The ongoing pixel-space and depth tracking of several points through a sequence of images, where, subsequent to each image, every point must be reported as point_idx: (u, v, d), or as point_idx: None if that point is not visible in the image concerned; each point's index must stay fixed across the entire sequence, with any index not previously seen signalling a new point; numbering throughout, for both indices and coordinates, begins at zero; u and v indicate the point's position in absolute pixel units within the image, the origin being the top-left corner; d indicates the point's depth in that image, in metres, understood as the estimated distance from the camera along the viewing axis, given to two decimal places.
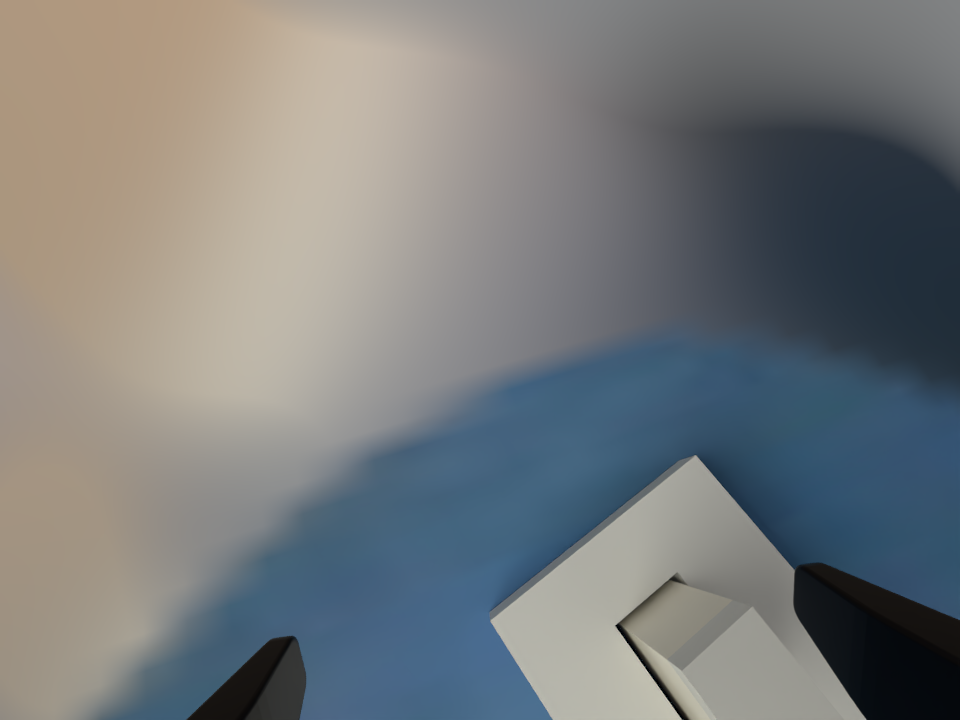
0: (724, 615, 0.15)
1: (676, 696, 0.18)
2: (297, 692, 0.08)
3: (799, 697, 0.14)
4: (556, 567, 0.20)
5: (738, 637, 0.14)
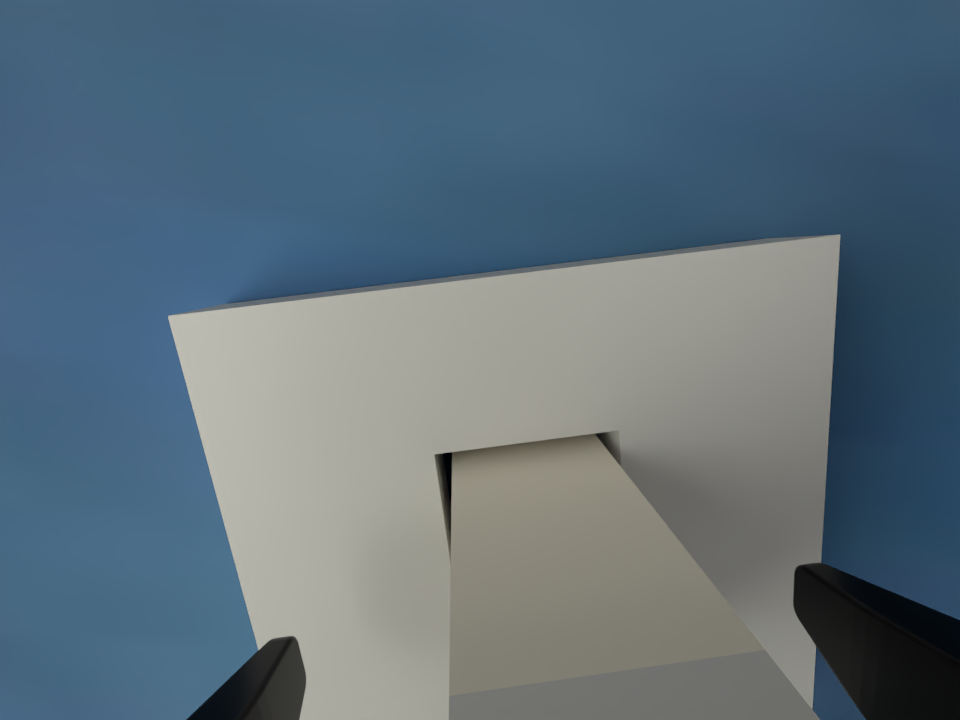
0: (721, 701, 0.04)
1: None
2: (297, 692, 0.08)
3: None
4: (376, 291, 0.08)
5: None
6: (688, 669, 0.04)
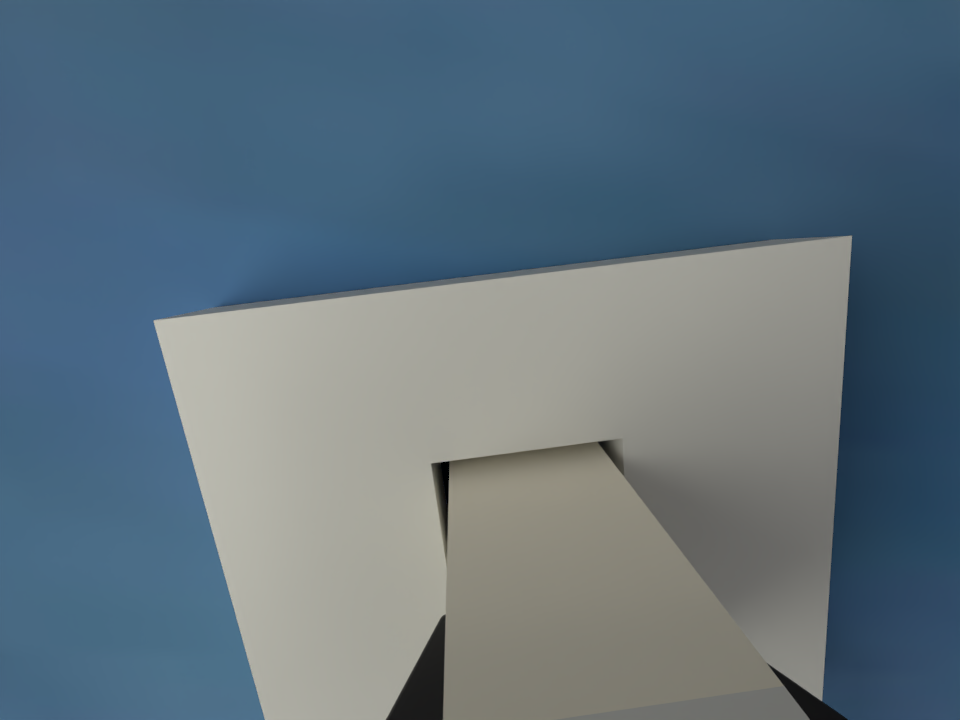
0: None
1: None
2: None
3: None
4: (370, 294, 0.08)
5: None
6: (701, 707, 0.04)
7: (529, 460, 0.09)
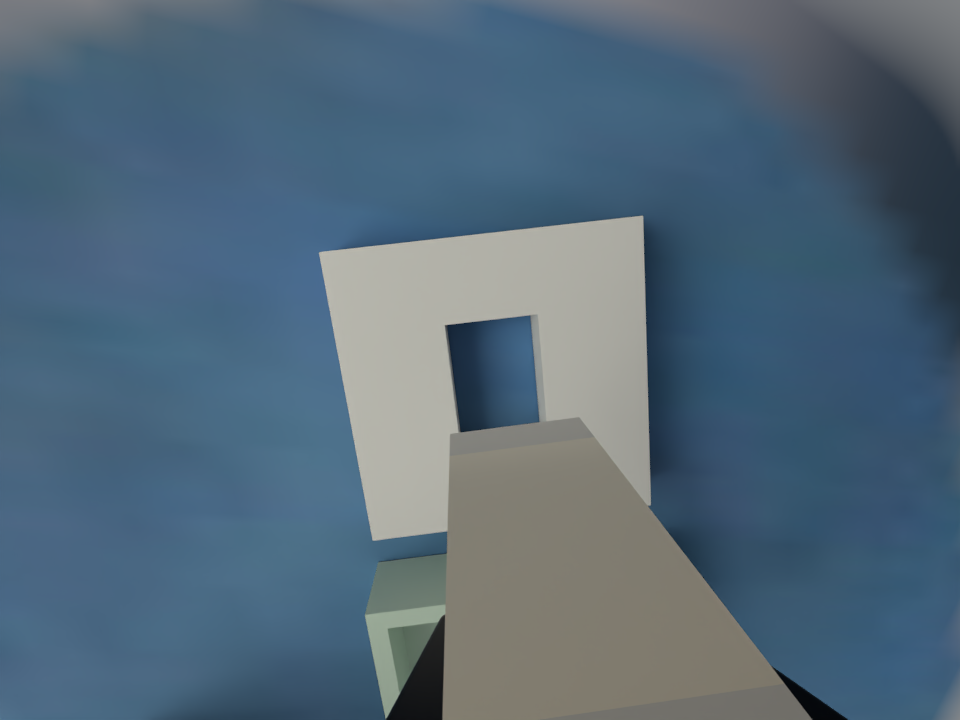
0: None
1: None
2: None
3: None
4: (417, 241, 0.17)
5: None
6: (701, 705, 0.04)
7: (529, 459, 0.09)
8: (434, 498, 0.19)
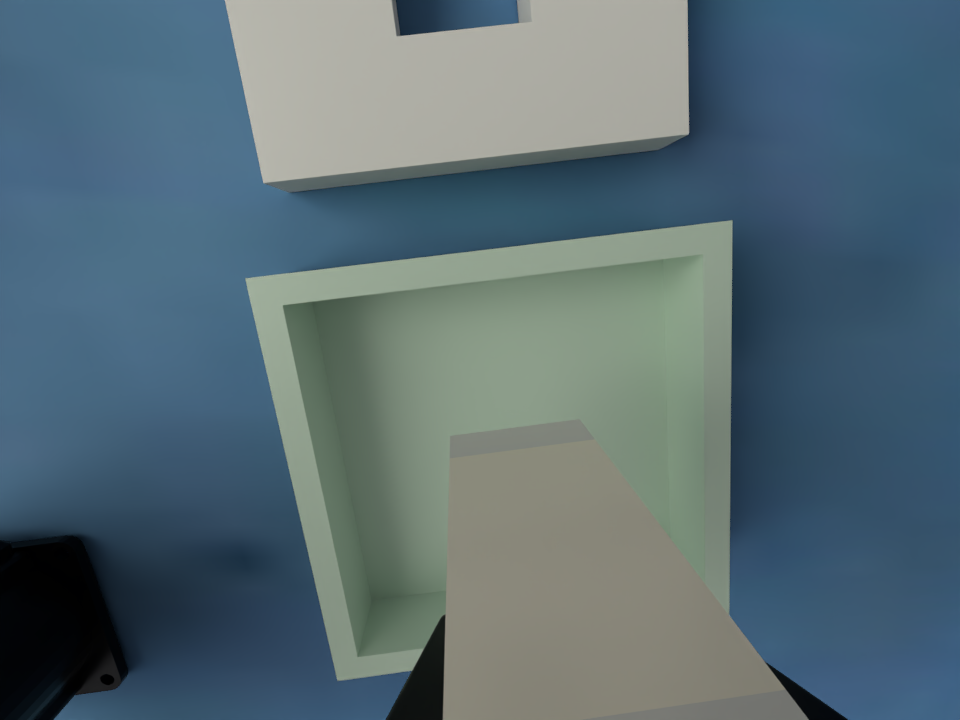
0: None
1: None
2: None
3: None
4: None
5: None
6: (702, 712, 0.04)
7: (529, 461, 0.09)
8: (355, 109, 0.12)
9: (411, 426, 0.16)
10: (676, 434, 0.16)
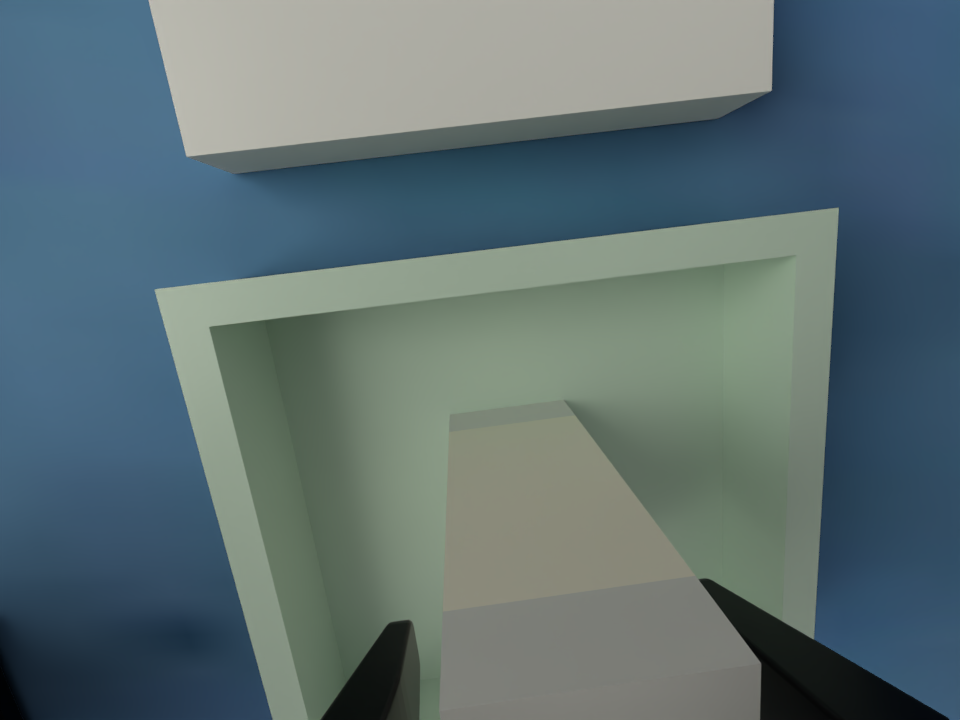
0: (656, 609, 0.05)
1: None
2: (417, 675, 0.08)
3: None
4: None
5: (661, 710, 0.04)
6: (633, 590, 0.05)
7: (517, 433, 0.10)
8: (312, 52, 0.09)
9: (396, 476, 0.12)
10: (737, 487, 0.12)
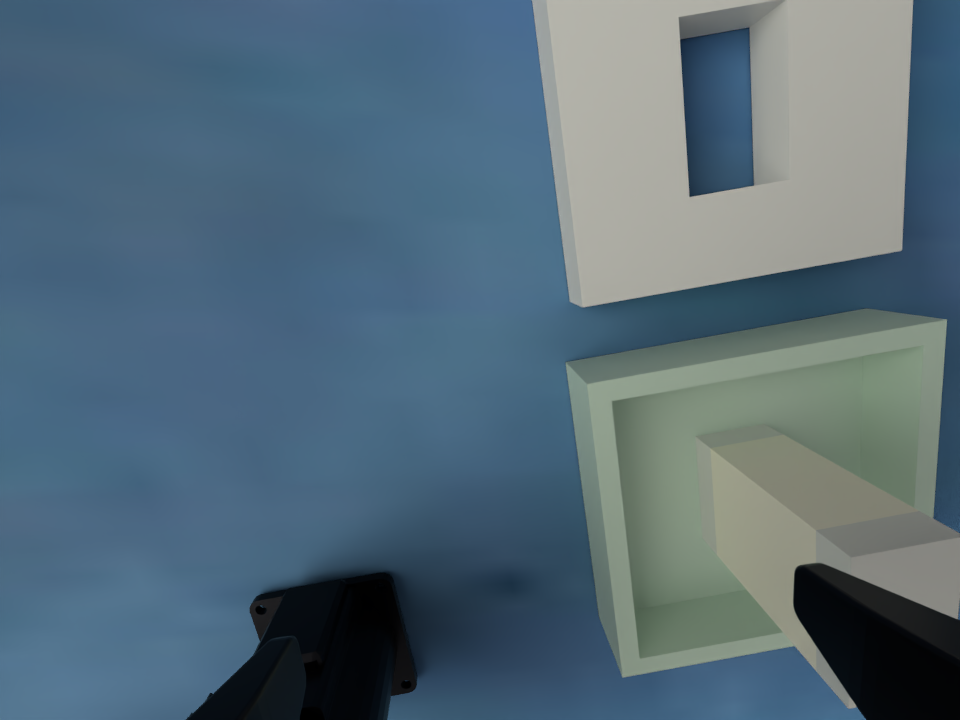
0: (910, 523, 0.13)
1: (735, 530, 0.18)
2: (297, 692, 0.08)
3: None
4: None
5: (927, 554, 0.12)
6: (895, 517, 0.13)
7: (757, 447, 0.18)
8: (655, 250, 0.17)
9: (660, 475, 0.20)
10: (874, 472, 0.20)
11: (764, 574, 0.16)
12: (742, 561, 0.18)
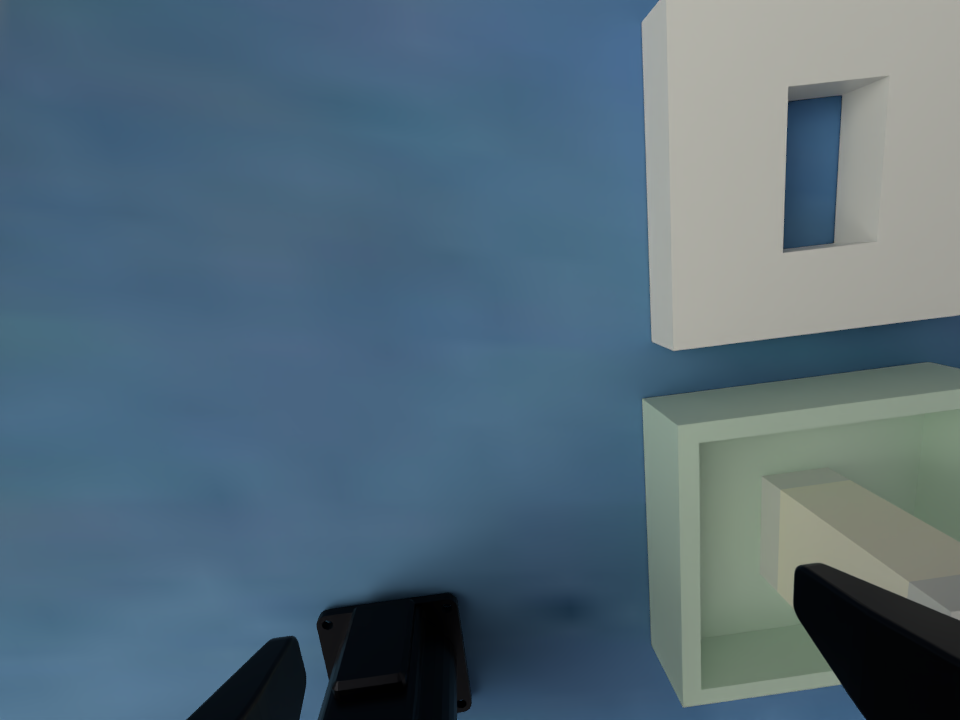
0: None
1: None
2: (297, 692, 0.08)
3: None
4: None
5: None
6: None
7: (828, 491, 0.19)
8: (746, 300, 0.17)
9: (725, 511, 0.21)
10: (929, 518, 0.21)
11: None
12: None
